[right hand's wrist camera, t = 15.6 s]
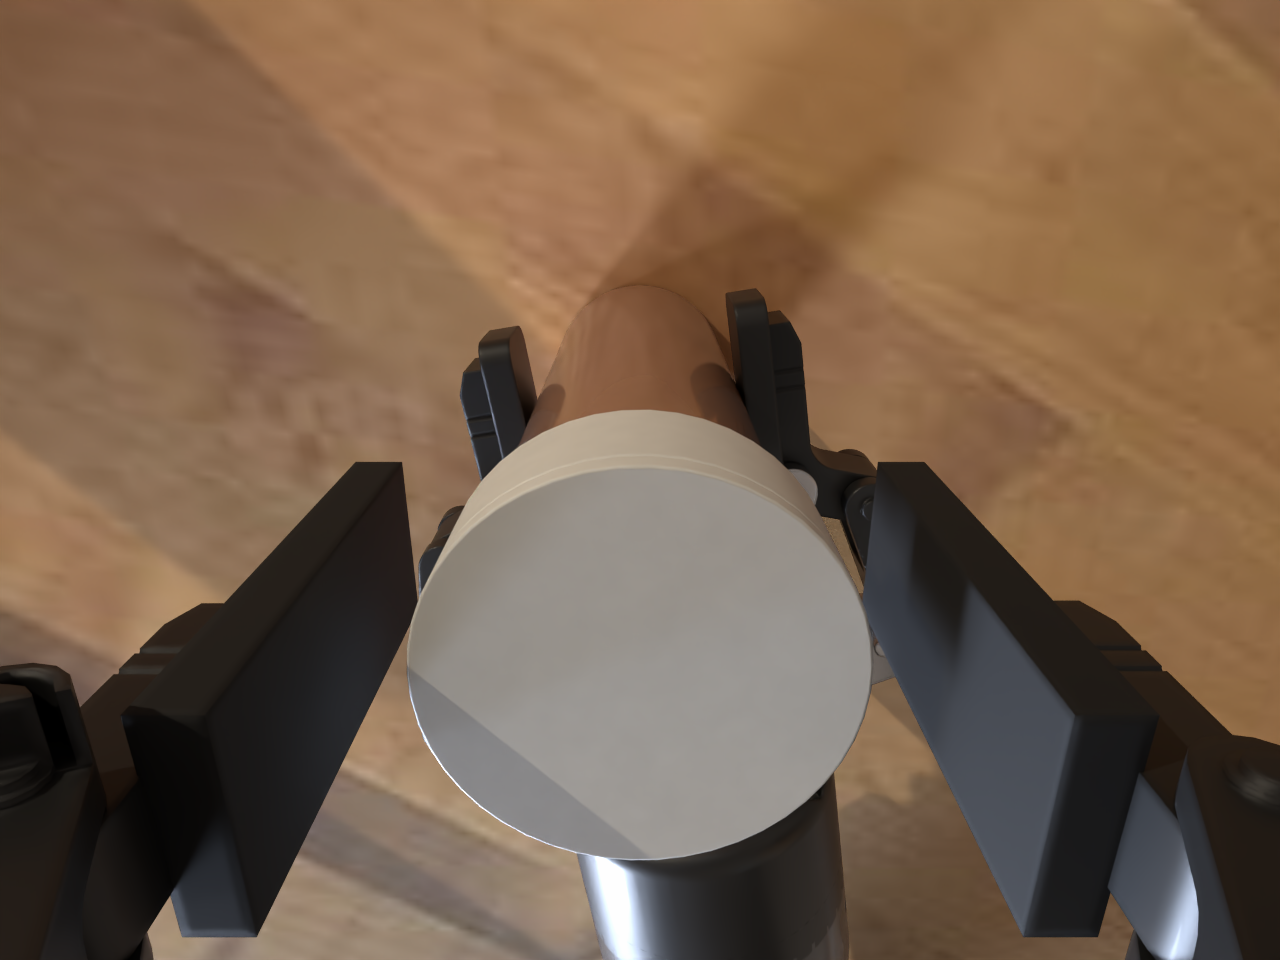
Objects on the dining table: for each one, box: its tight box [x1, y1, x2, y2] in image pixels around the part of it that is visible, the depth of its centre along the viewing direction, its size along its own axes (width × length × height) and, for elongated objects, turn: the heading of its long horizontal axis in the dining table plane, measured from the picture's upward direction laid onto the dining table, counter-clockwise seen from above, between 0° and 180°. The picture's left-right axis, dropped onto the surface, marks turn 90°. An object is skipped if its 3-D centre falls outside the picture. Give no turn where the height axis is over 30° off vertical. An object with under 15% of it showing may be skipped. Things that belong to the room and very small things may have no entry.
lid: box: [407, 410, 874, 860], centre depth 11 cm, size 6×6×2 cm
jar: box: [518, 285, 762, 447], centre depth 18 cm, size 5×5×16 cm
